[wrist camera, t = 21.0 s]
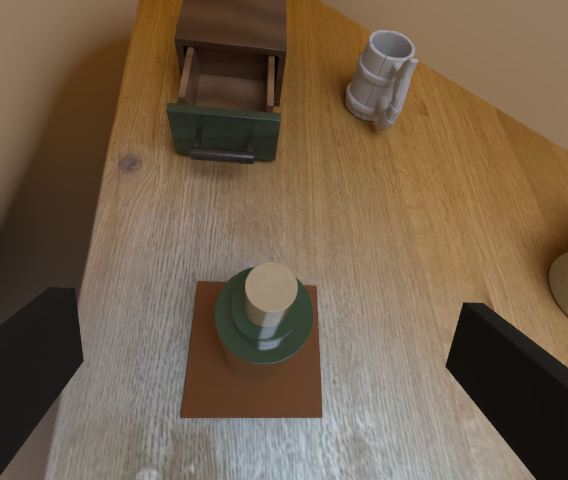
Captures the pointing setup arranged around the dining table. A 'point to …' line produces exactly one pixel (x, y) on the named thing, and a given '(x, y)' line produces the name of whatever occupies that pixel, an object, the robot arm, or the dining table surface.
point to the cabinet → (235, 30)
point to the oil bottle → (262, 320)
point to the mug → (381, 78)
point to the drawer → (226, 107)
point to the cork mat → (240, 392)
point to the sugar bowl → (560, 281)
